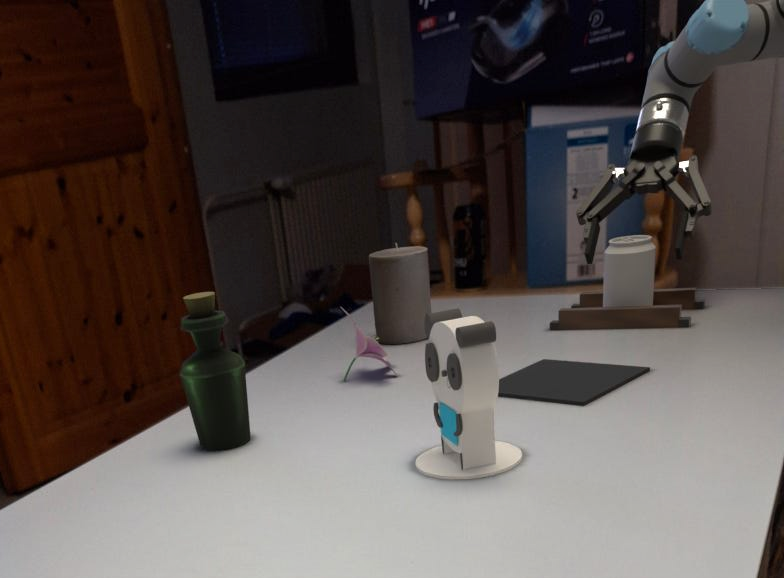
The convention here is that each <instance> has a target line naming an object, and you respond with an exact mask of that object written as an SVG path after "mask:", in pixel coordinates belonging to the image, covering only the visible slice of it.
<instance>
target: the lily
mask: <svg viewBox="0 0 784 578" xmlns="http://www.w3.org/2000/svg"><path fill="white" fill-rule="evenodd" d="M340 309H341V310H342V311H343V312H344V313H345V314H346V315H347V316H348V318H349V320H350V322H351V323H352V325H353V326H354V331H355V356H354V357H353V359H352V361H351V362H350V363H349V366H348V368H347V371H346V373H345V375H344V378H343V380H342V381H343V382H346V380H347V378H348V375H349V373H350V370H351V368H352V366H353V364H354V363H355V362H356V360H357V359H358V358H359V357H360V358H361V357H362V358H371V359H375V360H378V361H381V362H382V363H383V364H384V365H386V366H387V367H388V368H389V369H390V370H391V371H392V372H393V373H394V374H395V375H396V377H399V376H398V375H397V373H396V371H395V370H394V369H393V367H392V364H391V362H390V361H388V360H387V359H386V358H385V357H387V356H388V353H387V351H385V349H384V348H383V346H382V345H381V343H378V342H379V341H376V340H377V338H378V339H380V338H379V337H377V338H376V334H373V337H372V336H370V335H365V334H364V333H363V331H362V330H361V329H360V328H359V327H358V326H357V323H356V322H355V320H354V318H353V316H352V315H350V314H349V313H348V311H346V310H345V309H344V308H343V307H342V306H340Z"/></svg>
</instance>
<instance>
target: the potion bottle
mask: <svg viewBox="0 0 784 578" xmlns="http://www.w3.org/2000/svg"><path fill="white" fill-rule="evenodd" d="M182 299H183V302H184V304H185V307H186V309H187V312H188V315H185V316H183V317H181V320H180V328H179V329H180V331H184V332H188V333H189V335H190V337H191V339H192V341H193V344H194V346H195V348H196V351H194V352H193V353H192V354H191V355H190V356H189V357H188V358H187V359H186V360H184V361H183V362H182V365H181V367H180V371H179V377H180V381H181V384H182V387H183V391H184V394H185V397H186V401H187V405H188V407H189V411H190V414H191V415H190V416H191V419H192V421H193V425H194V429H195V431H196V435H197V439H198V443H199V446H200V447H202V448H203V449H204V450H208V451H225V450H231V449H235V448H239V447H241V446H243V445H245V444H247V443H248V442H249V441H250V439H251V423H250V412H249V410H250V409H249V399H248V398H249V397H248V387H247V386H248V385H247V375H246V364H245V363H246V362H245V360H244V359H243V357H242V356H241V354H239V353H237V352H235V351H232V350H229V349H228V348H225V347H223V346H221V333H222V332H221V330H222V327H224V326H225V325H226V324H228V323H229V318H228V316H227V315H226V313H225V311H223V310H216V308H215V307H216V301H215V300H216V293H215V292H214V291H202V292H195V293H191V294H189V295H185V296H183V297H182Z"/></svg>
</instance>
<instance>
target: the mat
mask: <svg viewBox="0 0 784 578" xmlns="http://www.w3.org/2000/svg"><path fill="white" fill-rule="evenodd" d="M649 372H651V367H650V366H640V365H639V366H638V365H626V364H625V365H624V364H613V363H612V364H611V363H599V362H586V361H576V360H575V361H573V360H559V359H550V358H549V359H545V358H543V359H541V360H538V361H536V362H534V363H532V364H530V365H528V366H526V367H523V368H521V369H519V370H517V371H514V372H511V373H510V374H507V375H506V376H503V377H501V378H499V391H498V397H500V398H501V397H502V398H508V399H518V400H526V401H535V402H544V403H545V402H546V403H552V404H553V403H555V404H563V405H572V406H580V407H584V406H587V405H589V404H590V403H592V402H594V401H596V400H597V399H600V398H602V397H603V396H605V395H607V394H609V393H611V392H613V391H614V390H617V389H619V388H621V387H622V386H624V385H626V384H628V383H630V382H632V381H634V380H636V379H638V378H640V377H641V376H643V375H645V374H647V373H649Z"/></svg>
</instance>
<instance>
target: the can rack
mask: <svg viewBox="0 0 784 578" xmlns="http://www.w3.org/2000/svg"><path fill="white" fill-rule="evenodd" d="M697 293H698V287H678V288H677V287H676V288H674V287H673V288H654V293H653V305H652V306H621V307H603V290H602V291H582V292H581V293H580V294H579V303H573V304H572V305H571V306H570V307H562V308H560V309H559V310H558V319H556V320H554V319H553V320H551V321H550V322H549V331H577V330H578V331H580V330H586V331H587V330H625V329H627V330H628V329H633V330H634V329H670V328H672V329H673V328H675V329H676V328H681V329H682V328H690V327H691V325H692V316H682V313H683V312H682V311H684V310H704V309H705V307H706V301H707V300H706V298H701V299H700V298H699V299H697Z"/></svg>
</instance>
